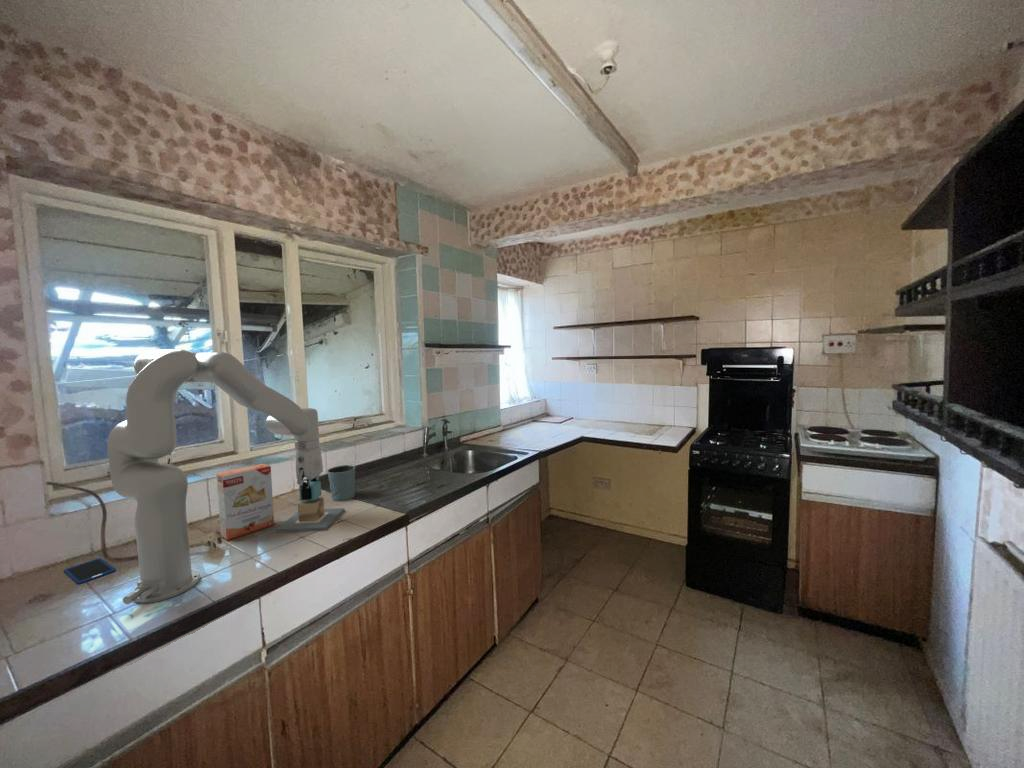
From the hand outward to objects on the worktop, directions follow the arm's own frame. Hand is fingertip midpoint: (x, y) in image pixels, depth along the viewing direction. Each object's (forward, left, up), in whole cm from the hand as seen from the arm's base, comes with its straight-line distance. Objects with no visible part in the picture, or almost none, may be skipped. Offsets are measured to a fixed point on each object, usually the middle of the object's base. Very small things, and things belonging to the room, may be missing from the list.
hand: (310, 495), depth 136 cm
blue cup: (+22, -2, -9) cm, 24 cm away
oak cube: (0, 0, -8) cm, 8 cm away
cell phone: (-28, +47, -10) cm, 55 cm away
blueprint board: (0, 0, -9) cm, 9 cm away
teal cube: (0, 0, -1) cm, 1 cm away
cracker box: (-6, +18, -9) cm, 21 cm away
